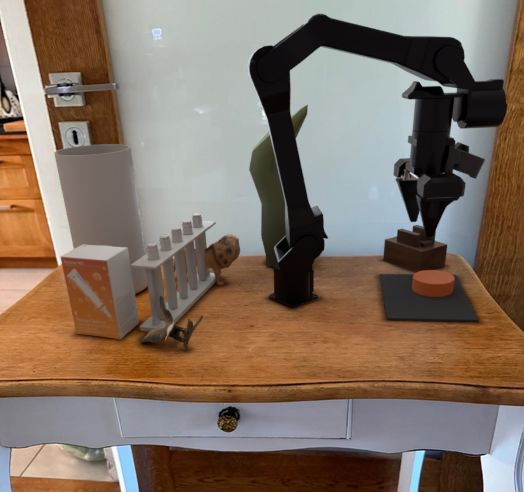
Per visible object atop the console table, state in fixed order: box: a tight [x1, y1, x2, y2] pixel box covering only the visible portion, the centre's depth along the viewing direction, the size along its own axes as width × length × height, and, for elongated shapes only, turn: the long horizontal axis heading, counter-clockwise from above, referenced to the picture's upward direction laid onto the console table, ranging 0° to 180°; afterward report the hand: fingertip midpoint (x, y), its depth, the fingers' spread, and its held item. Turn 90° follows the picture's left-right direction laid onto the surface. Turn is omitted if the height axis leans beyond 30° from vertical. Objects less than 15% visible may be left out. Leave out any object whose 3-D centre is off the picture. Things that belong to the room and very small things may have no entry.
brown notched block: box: [382, 224, 448, 273], centre depth 110 cm, size 7×10×7 cm
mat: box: [379, 273, 479, 323], centre depth 96 cm, size 20×14×1 cm
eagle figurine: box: [140, 296, 204, 351], centre depth 83 cm, size 8×7×9 cm
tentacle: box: [248, 104, 309, 268], centre depth 107 cm, size 9×12×30 cm
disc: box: [412, 269, 455, 297], centre depth 97 cm, size 2×7×7 cm
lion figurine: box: [173, 233, 241, 286], centre depth 104 cm, size 15×5×9 cm, turn 88°
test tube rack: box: [130, 212, 217, 333], centre depth 95 cm, size 25×4×13 cm, turn 163°
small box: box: [60, 244, 140, 340], centre depth 86 cm, size 8×6×13 cm
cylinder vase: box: [53, 143, 148, 295], centre depth 99 cm, size 12×12×25 cm
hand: (421, 229), depth 93 cm, fingers open, 9 cm apart
